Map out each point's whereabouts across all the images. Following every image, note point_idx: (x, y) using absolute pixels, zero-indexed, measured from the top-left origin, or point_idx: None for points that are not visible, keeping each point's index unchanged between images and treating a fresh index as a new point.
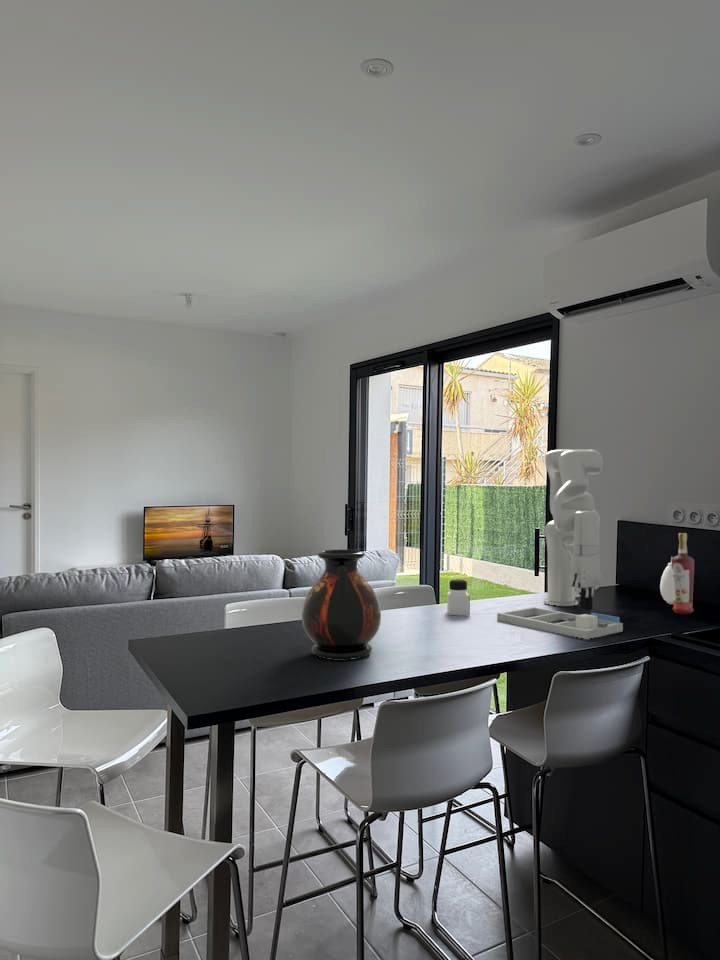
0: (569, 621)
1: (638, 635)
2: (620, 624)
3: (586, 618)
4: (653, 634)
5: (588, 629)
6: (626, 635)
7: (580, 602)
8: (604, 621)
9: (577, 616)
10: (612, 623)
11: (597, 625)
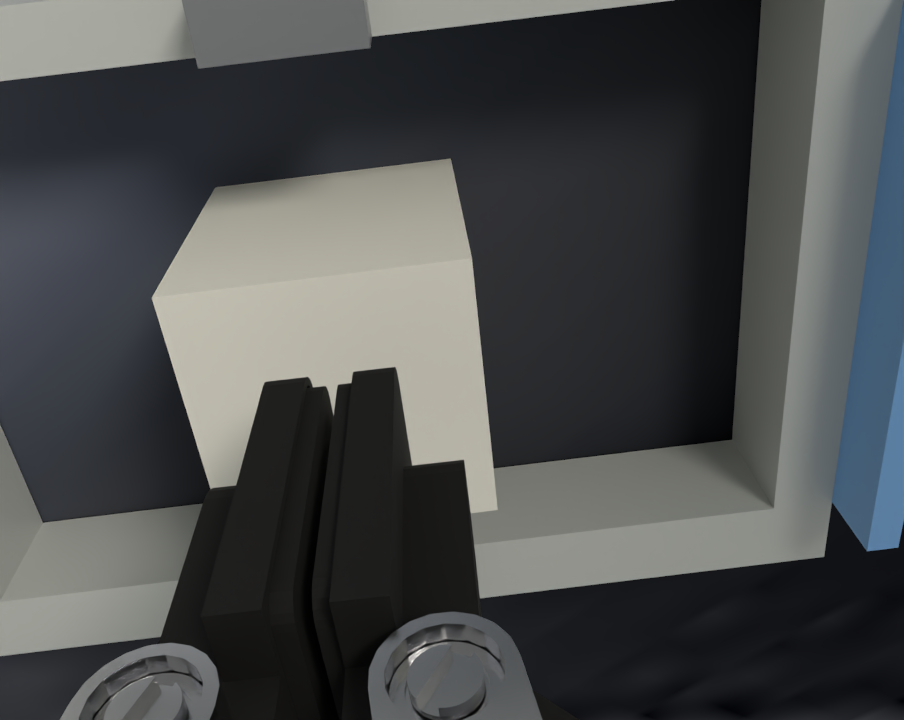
0: (181, 43)
1: (712, 667)
2: (762, 556)
3: None
4: (875, 696)
5: (67, 608)
6: (609, 621)
7: (240, 470)
8: (788, 322)
9: (164, 325)
10: (772, 444)
11: (761, 162)
